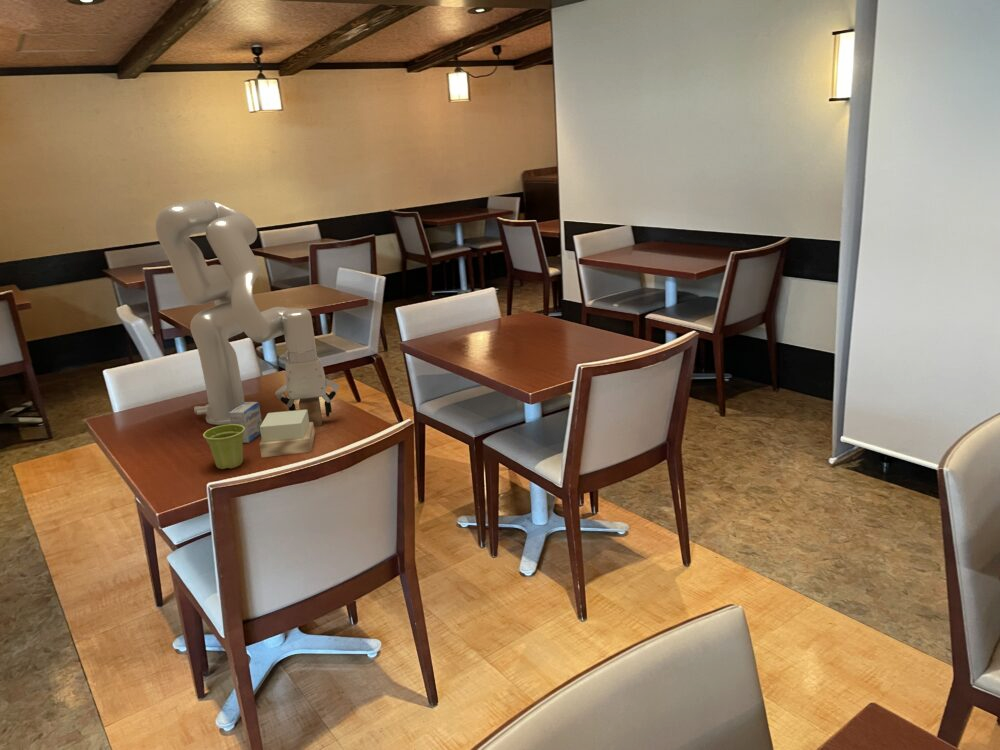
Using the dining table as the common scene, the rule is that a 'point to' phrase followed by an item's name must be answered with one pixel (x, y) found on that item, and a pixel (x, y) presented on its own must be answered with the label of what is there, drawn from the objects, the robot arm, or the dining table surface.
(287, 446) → the tower base block
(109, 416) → the dining table surface
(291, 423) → the tower top block
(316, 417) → the walnut block
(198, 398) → the dining table surface
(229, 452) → the plant pot
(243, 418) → the medicine box
